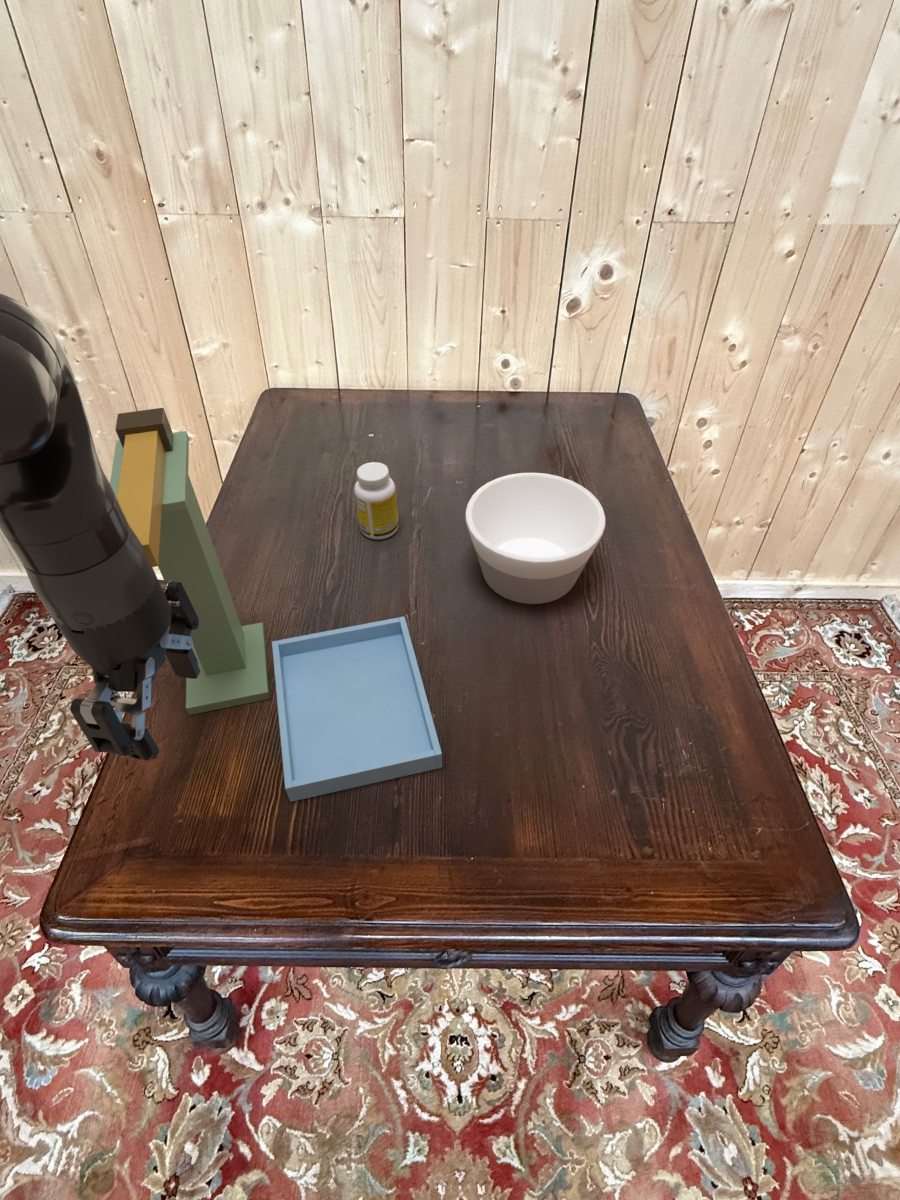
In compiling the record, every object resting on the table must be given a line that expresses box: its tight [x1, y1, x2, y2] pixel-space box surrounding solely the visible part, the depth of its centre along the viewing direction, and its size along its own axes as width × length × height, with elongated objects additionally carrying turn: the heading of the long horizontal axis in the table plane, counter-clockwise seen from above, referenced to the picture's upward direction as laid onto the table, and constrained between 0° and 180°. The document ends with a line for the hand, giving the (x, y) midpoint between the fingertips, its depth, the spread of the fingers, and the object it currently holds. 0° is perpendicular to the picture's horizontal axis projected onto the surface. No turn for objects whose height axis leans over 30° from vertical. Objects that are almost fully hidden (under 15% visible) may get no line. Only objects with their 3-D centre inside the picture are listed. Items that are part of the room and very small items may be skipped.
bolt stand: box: [109, 430, 271, 716], centre depth 79 cm, size 10×12×32 cm
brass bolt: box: [114, 407, 174, 568], centre depth 63 cm, size 4×20×3 cm, turn 14°
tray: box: [271, 616, 443, 803], centre depth 85 cm, size 18×22×3 cm
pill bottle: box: [353, 461, 400, 541], centre depth 106 cm, size 6×6×11 cm
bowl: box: [465, 472, 607, 605], centre depth 99 cm, size 19×19×11 cm
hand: (169, 713), depth 62 cm, fingers open, 8 cm apart
